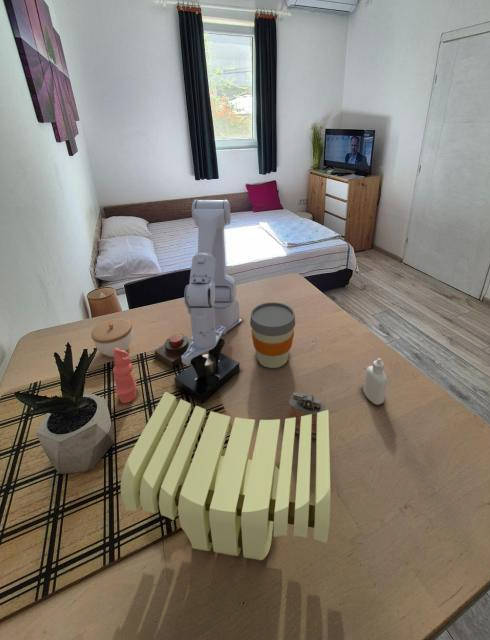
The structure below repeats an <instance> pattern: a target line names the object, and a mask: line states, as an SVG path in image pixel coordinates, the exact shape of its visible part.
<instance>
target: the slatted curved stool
mask: <svg viewBox="0 0 490 640" xmlns="http://www.w3.org/2000/svg"><path fill="white" fill-rule="evenodd" d="M191 411H192V404H191V403H190V402H188V401H186V400H184V399H181V398H180V399H179V402H178V403H177V396H175V395H174V394H172V393H170V392H168V391H164V393H163V395H162V397H160V400H159V402H158V403H157V406H156V407H155V409H154V411H153V413H152V414H151V416H150V418H149V419H148V421H147V423H146V426H145V427H144V428H143V430H142V431H141V434H140V436H139V437H138V439H137V441H136V443H135V444H134V446H133V447H132V450H131V452H130V454H129V455H128V457H127V460H126V462H125V464H124V468H123V472H122V475H121V479H120V496H121V499H122V503H123V506H124V509H125V512H126V511H133V512H134V511H135V512H136V511H137V512H138V510H139V507H140V506H141V510H142V512H147V513H153V514H155V513H156V511H157V509H158V507H159V512H160V515H161V516H163V517H166V518H168V519H170V520H172V521H175V519H176V516H177V513H178V520H179V525H180V528H181V529H182V531H183V532H184V533H185V535H186V536H187V538H188V540H189V542H190V544H191V548H192V549H194V550H201V551H206V552H210V551H211V550H213V552H214V553H217V554H222V555H228V556H235V557H239V556H240V553H241V551H242V557H243V558H246V559H252V560H256V561H257V560H258V561H263V560H264V559H265V558H266V557H267V556H268V554H269V552H270V549H271V545H272V540H273V539H272V538H275V537H281V536H288V528H289V525H293V537H301V538H306V539H307V538H308V529H309V528H313V540H315V541H318V542H322V543H325V544H328V540H329V539H328V538H329V531H330V521H331V455H330V454H331V453H330V419H329V416H330V415H329V409H326V410H325V411H322V412H318V413H317V433H316V438H315V439H316V440H315V482H314V483H315V485H314V504H310V491H311V490H310V487H311V451H312V438H311V423H312V414H310V415H305V416H301V424H300V434H299V441H298V455H297V456H298V457H297V470H296V471H297V472H296V489H295V502H294V501H291V488H292V476H293V475H292V474H293V462H294V448H295V447H294V446H295V436H296V435H295V434H296V432H295V423H296V417H295V418H290V417H287V418H285V419H284V427H283V434H282V435H283V436H282V444H281V453H280V460H279V468H278V466H277V465H276V464H277V455H278V446H279V438H280V431H281V419H280V418H279V419H259V423H258V428H257V432H256V433H257V434H256V437H255V443H254V448H253V453H252V458H251V459H249V456H250V451H251V446H252V442H253V441H252V440H253V436H254V431H255V426H256V419H252V418H243V417H235V418H234V421H233V423H232V427H231V430H230V434H229V437H228V442H227V446H226V448H225V453H224V455H222V453H223V450H224V447H225V442H226V439H227V435H228V431H229V428H230V425H231V421H232V420H231V419H232V418H231V416H230V415H227V414H222V413H218V412H216V411H212V410H210V412H209V414H208V416H207V409H206V408H203V407H201V406H198V405H195V407H194V409H193V411H192V413H191ZM190 413H191V415H190ZM189 416H190V418H189ZM206 416H207V420H206V423H205V426H204V428H203V431H202V426H203V424H204V421H205V418H206ZM188 418H189V420H188ZM187 421H188V423H187ZM186 423H187V425H186ZM185 426H186V428H185ZM184 429H185V430H184ZM201 431H202V433H201ZM200 433H201V436H200V439H199V442H198V444H197V441H198V438H199V435H200ZM181 435H182V437H181ZM180 438H181V439H180ZM179 440H180V441H179ZM196 444H197V447H196ZM195 447H196V450H195ZM194 450H195V452H194ZM193 453H194V455H193ZM192 457H193V458H192Z"/></svg>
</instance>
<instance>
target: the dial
mask: <svg viewBox="0 0 490 640" xmlns="http://www.w3.org/2000/svg"><path fill="white" fill-rule="evenodd" d="M201 355H202V357H204V358H206V359H207V360H206V363H205V376H210V375H212V374H214V373H215V371H216V361H215V357H214V356H213V355H211V354H207V353H204V354H201Z"/></svg>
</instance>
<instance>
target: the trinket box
mask: <svg viewBox="0 0 490 640" xmlns="http://www.w3.org/2000/svg"><path fill="white" fill-rule="evenodd" d="M133 333H134V332H133V326H132V323H131V321H130V320H129V319H126V318H112V319H108V320H105V321H103V322H100V323H99V324H97V325H96V326H95V327H94V328H93V329H92V331H91V333H90V335H91V339H92V341H93V344H94V347H95V349H96V350H97V351H98V352H99V353H101V354H102V355H104V356H107V357H109V358H110V357H111V358H114V349H115V348H118V349H119V350H123V351H126V352H127V351H128V349H129V348H130V346H131V344H132V342H133V336H134V335H133Z"/></svg>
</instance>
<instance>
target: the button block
mask: <svg viewBox="0 0 490 640" xmlns="http://www.w3.org/2000/svg"><path fill="white" fill-rule="evenodd" d="M179 335H181V336H182V339H183V343H182V344H181V345H180V346H177V347H172V346H171V345H170V337H168V338H167V339H166V340H165V342H164V344H163V345H161V346H160V347H158V348H157V349H155V350H154V357H155V358H157V359H158V360H160V361H161V362H163V363H165V364H166V365H167V366H169V367H170V368H172V369H174V368H175V367H177V366H178V365H180V364H181V363H182V358H181V356H182V355H184V353H185V352H186V351H187V349H188V348H189V346H190V345H191V343H192V340H191V337H190V336H189V337H188V336H187V335H185V334H184V333H180V334H179Z"/></svg>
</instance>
